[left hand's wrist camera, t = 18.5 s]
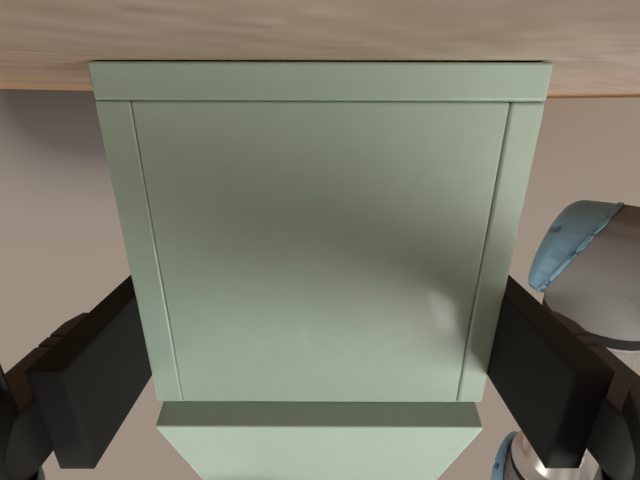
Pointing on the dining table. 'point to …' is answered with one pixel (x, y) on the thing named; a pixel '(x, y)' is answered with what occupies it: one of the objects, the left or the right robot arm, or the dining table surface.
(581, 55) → the dining table surface
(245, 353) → the chest
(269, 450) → the lid
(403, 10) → the dining table surface
